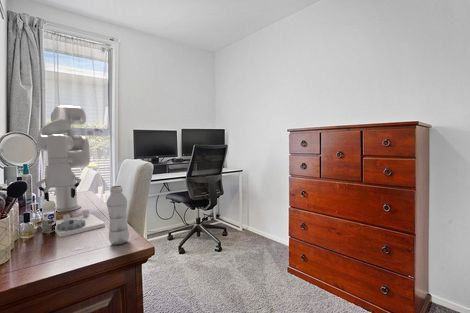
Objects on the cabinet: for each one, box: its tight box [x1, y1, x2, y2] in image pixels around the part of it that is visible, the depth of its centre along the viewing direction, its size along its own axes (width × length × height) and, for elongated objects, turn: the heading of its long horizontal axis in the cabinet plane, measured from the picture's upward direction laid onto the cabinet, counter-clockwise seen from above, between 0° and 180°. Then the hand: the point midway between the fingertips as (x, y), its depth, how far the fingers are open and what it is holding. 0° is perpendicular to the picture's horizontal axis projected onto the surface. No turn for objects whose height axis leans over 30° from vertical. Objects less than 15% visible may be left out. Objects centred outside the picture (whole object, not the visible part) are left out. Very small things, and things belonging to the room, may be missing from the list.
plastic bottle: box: [106, 185, 130, 245], centre depth 89 cm, size 6×7×20 cm
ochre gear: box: [55, 211, 73, 221], centre depth 119 cm, size 7×7×3 cm
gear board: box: [54, 209, 106, 238], centre depth 110 cm, size 20×16×4 cm
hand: (60, 199), depth 117 cm, fingers open, 9 cm apart
